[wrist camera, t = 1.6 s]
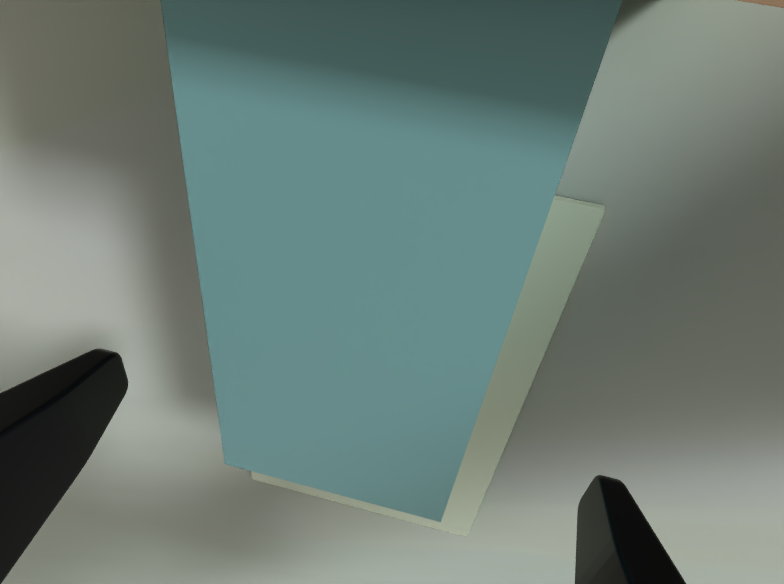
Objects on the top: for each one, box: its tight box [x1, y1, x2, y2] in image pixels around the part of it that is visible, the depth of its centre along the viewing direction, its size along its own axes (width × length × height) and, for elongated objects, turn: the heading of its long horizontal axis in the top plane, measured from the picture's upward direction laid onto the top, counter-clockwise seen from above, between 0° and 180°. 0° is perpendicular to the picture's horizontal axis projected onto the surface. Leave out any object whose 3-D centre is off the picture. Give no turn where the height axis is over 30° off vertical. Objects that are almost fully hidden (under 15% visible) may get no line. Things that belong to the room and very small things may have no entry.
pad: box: [251, 196, 606, 537], centre depth 14 cm, size 8×13×1 cm, turn 173°
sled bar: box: [161, 0, 623, 522], centre depth 7 cm, size 4×14×4 cm, turn 173°
